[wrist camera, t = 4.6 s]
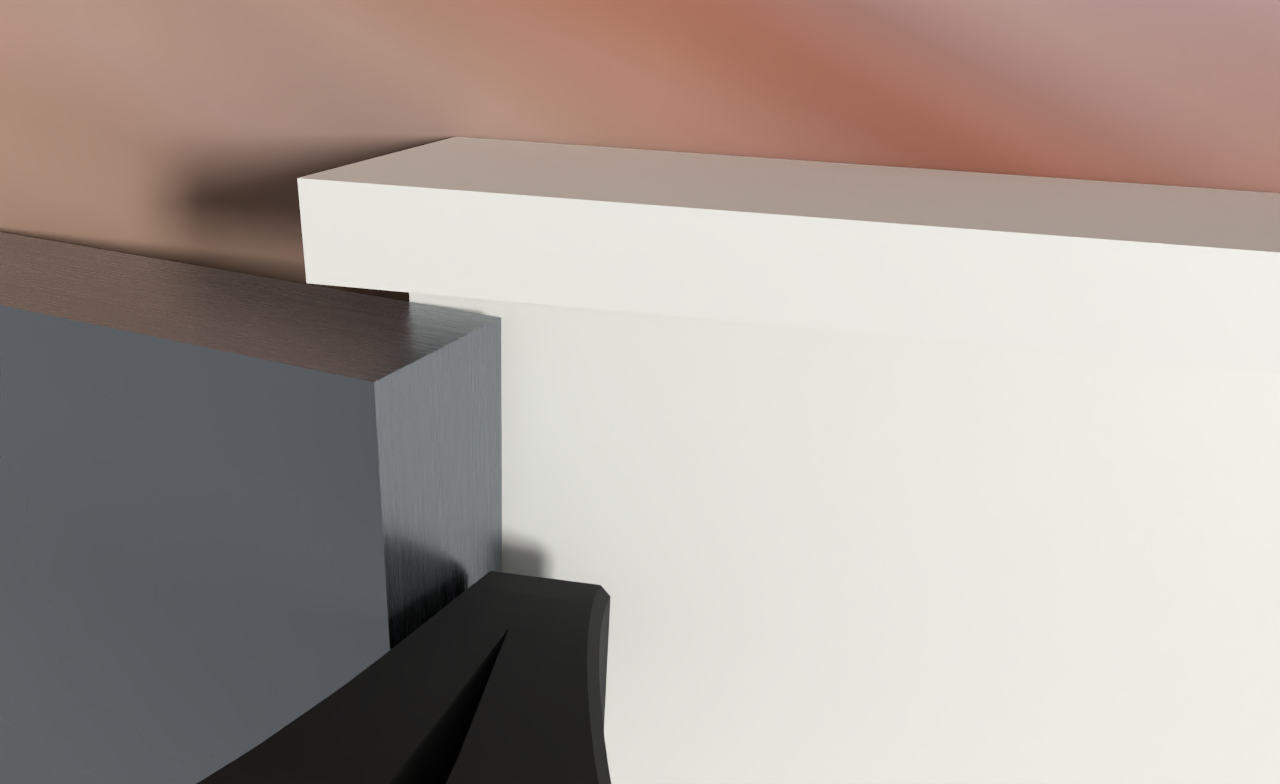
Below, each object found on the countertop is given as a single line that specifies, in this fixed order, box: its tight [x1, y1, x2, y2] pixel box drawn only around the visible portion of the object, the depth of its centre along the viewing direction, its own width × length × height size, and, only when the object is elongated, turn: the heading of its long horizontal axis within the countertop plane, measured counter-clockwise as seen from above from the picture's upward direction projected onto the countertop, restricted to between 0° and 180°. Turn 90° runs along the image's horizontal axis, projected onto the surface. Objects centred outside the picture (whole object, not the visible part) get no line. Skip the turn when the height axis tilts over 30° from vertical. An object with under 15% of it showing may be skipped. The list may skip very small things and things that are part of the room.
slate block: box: [0, 232, 502, 784], centre depth 10 cm, size 7×8×2 cm
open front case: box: [297, 137, 1280, 784], centre depth 9 cm, size 10×17×4 cm, turn 87°
